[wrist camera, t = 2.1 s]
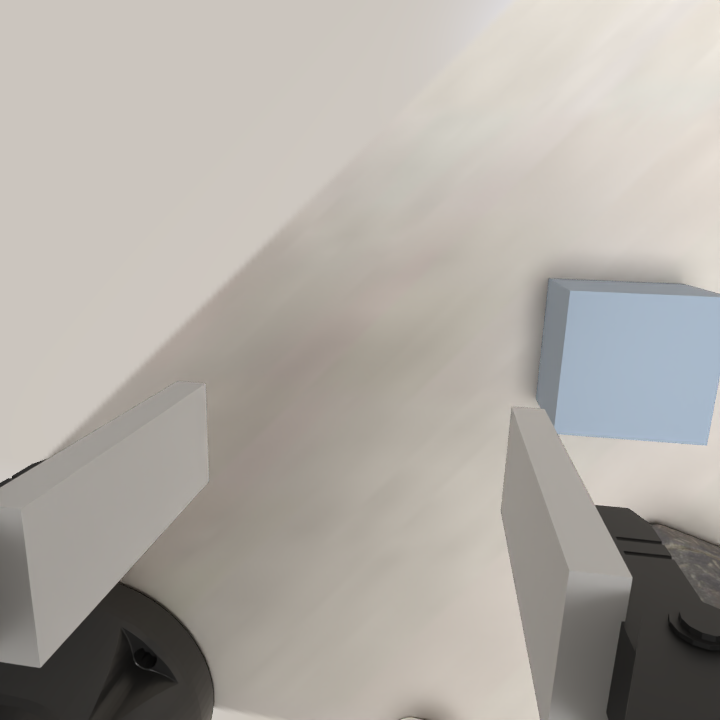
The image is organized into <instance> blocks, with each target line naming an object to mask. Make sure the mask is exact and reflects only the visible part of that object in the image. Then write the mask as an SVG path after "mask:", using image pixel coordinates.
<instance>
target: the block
mask: <svg viewBox="0 0 720 720" xmlns="http://www.w3.org/2000/svg"><path fill="white" fill-rule="evenodd" d="M719 378H720V294H718V293H715V292H711V291H707V290H704V289H700V288H696V287H692V286H689V285H685V284H672V283H647V282H623V281H599V280H574V279H550V278H549V281H548V291H547V300H546V309H545V318H544V328H543V337H542V346H541V356H540V365H539V374H538V384H537V393H536V400H537V402H538V404H539V406H540V408H541V409H545V411H546V413H547V415H548V416H549V418H550V420H551V422H552V424H553V426H554V428H555V430H556V432H557V434H563V435H576V436H590V437H603V438H616V439H629V440H642V441H655V442H668V443H681V444H694V445H707V442H708V436H709V431H710V426H711V420H712V415H713V410H714V404H715V399H716V394H717V388H718V383H719Z"/></svg>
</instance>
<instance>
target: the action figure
mask: <svg viewBox="0 0 720 720" xmlns="http://www.w3.org/2000/svg"><path fill="white" fill-rule="evenodd" d="M400 720H422V719H417V718H414V717H408V718H403V719H400Z"/></svg>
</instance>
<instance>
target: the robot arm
mask: <svg viewBox="0 0 720 720" xmlns="http://www.w3.org/2000/svg"><path fill="white" fill-rule="evenodd" d="M208 482H209V463H208V433H207V404H206V383H198V382H185V381H177V382H175V383H173V384H172V385H170V386H168V387H167V388H165V389H163V390H162V391H160V392H158V393H157V394H155V395H153V396H152V397H150V398H148V399H147V400H145V401H143V402H142V403H140V404H138V405H137V406H135V407H133V408H132V409H130V410H128V411H127V412H125V413H123V414H122V415H120V416H118V417H117V418H115V419H113V420H112V421H110V422H108V423H107V424H105V425H103V426H102V427H100V428H98V429H97V430H95V431H93V432H92V433H90V434H88V435H87V436H85V437H83V438H82V439H80V440H78V441H77V442H75V443H73V444H72V445H70V446H68V447H67V448H65V449H63V450H62V451H60V452H59V453H57V454H55V455H54V456H52V457H50V458H48V459H45V460H43V461H40V462H37V463H34V464H32V465H30V466H28V467H27V468H25V469H23V470H22V471H20V472H18V473H16V474H15V475H13V476H12V479H9V478H8V479H6V480H5V481H3V482H1V483H0V720H211V718H212V713H213V701H214V697H213V687H212V681H211V677H210V674H209V671H208V667H207V665H206V663H205V660H204V658H203V656H202V654H201V652H200V650H199V648H198V647H197V645H196V643H195V642H194V641H193V639H192V638H191V636H190V635H189V634H188V632H187V631H186V630H185V629H184V628H183V626H182V625H181V624H180V623H179V622H178V621H177V620H176V619H175V618H174V617H173V616H172V615H171V614H169V613H168V612H167V611H166V610H165V609H163V608H162V607H161V606H160V605H158V604H157V603H155V602H154V601H152V600H151V599H149V598H148V597H146V596H144V595H143V594H141V593H139V592H137V591H135V590H133V589H130V588H128V587H126V586H123V585H120V584H117V583H118V582H119V581H120V579H121V578H122V577H123V576H124V575H125V574H126V573H127V572H128V571H129V569H130V568H131V567H132V566H133V565H134V564H135V563H136V562H137V561H138V560H139V558H140V557H141V556H142V555H143V554H144V553H145V552H146V551H147V550H148V548H149V547H150V546H151V545H152V544H153V543H154V542H155V541H156V540H157V539H158V537H159V536H160V535H161V534H162V533H163V532H164V531H165V530H166V529H167V527H168V526H169V525H170V524H171V523H172V522H173V521H174V520H175V519H176V518H177V516H178V515H179V514H180V513H181V512H182V511H183V510H184V509H185V508H186V506H187V505H188V504H189V503H190V502H191V501H192V500H193V499H194V498H195V497H196V495H197V494H198V493H199V492H200V491H201V490H202V489H203V488H204V487H205V485H206V484H207V483H208ZM501 514H502V520H503V525H504V530H505V536H506V541H507V546H508V552H509V557H510V562H511V567H512V573H513V578H514V583H515V589H516V594H517V599H518V605H519V610H520V615H521V620H522V626H523V631H524V636H525V642H526V647H527V652H528V658H529V663H530V668H531V673H532V679H533V684H534V689H535V695H536V700H537V705H538V711H539V716H540V720H720V609H719V608H716V607H714V606H711V605H709V604H706V603H704V602H702V600H701V599H700V597H699V596H698V594H697V593H696V591H695V590H694V588H693V587H692V585H691V584H690V582H689V581H688V579H687V578H686V577H685V575H684V574H683V572H682V571H681V569H680V568H679V566H678V565H677V563H676V562H675V560H672V556H671V554H670V553H669V551H668V550H667V548H666V547H665V545H662V541H661V539H660V538H659V536H658V535H657V533H656V532H655V530H654V529H653V527H652V526H651V524H649V523H648V522H647V521H645V520H644V519H643V518H641V517H640V516H638V515H637V514H636V513H634V512H633V511H631V510H630V509H629V508H620V507H609V506H599V505H594V503H593V501H592V499H591V497H590V495H589V493H588V491H587V489H586V487H585V485H584V484H583V482H582V480H581V478H580V476H579V474H578V472H577V470H576V468H575V466H574V464H573V462H572V461H571V459H570V457H569V455H568V453H567V451H566V449H565V447H564V445H563V443H562V441H561V439H560V438H559V436H558V434H557V432H556V430H555V428H554V426H553V424H552V422H551V420H550V418H549V416H548V415H547V413H546V411H545V409H538V408H524V407H512V408H511V417H510V427H509V437H508V446H507V456H506V465H505V475H504V485H503V494H502V504H501Z"/></svg>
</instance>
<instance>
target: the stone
mask: <svg viewBox="0 0 720 720" xmlns="http://www.w3.org/2000/svg"><path fill="white" fill-rule="evenodd" d="M651 526H652V527H653V529H654V530H655V532H656V533H657V535H658V536H659V538H660V539H661V541H662V545H665V547H666V548H667V550H668V551H669V553H670V554H671V556H672V560H675V562H676V563H677V565H678V566H679V568H680V569H681V571H682V572H683V574H684V575H685V577H686V578H687V579H688V581H689V582H690V584H691V585H692V587H693V588H694V590H695V591H696V593H697V594H698V596H699V597H700V599H701V600H702V602H704V603H706V604H709V605H711V606H714V607H716V608H719V609H720V547H718V546H715V545H713V544H710V543H708V542H705V541H702V540H700V539H698V538H695V537H692V536H690V535H686V534H684V533H682V532H680V531H677V530H674V529H671V528H668V527H666V526H663V525H659V524H655V525H653V524H651Z"/></svg>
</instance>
